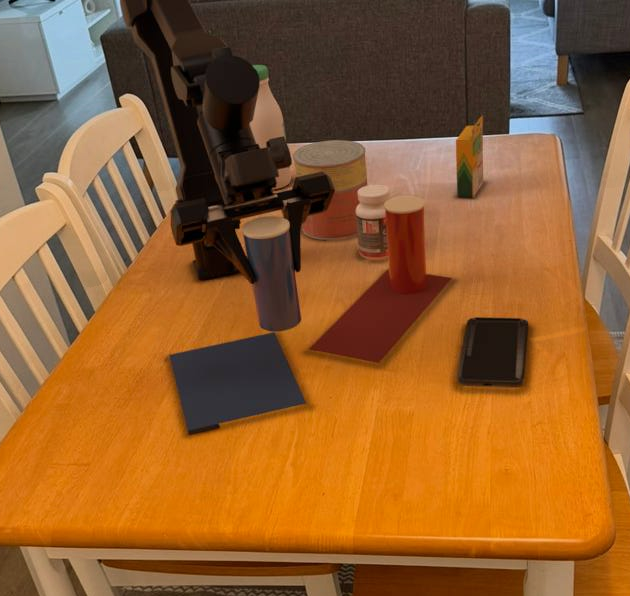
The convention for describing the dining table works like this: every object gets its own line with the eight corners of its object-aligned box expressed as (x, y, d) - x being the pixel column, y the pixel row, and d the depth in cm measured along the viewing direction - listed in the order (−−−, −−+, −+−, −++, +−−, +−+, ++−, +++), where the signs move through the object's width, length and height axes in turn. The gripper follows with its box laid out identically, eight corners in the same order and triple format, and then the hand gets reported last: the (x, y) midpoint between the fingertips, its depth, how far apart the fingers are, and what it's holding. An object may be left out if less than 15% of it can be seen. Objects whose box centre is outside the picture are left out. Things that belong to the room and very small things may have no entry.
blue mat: (170, 358, 115) (169, 354, 114) (275, 336, 117) (274, 332, 117) (188, 434, 101) (187, 430, 101) (307, 407, 104) (306, 403, 103)
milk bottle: (289, 190, 158) (274, 72, 146) (247, 192, 159) (227, 75, 146) (293, 174, 164) (278, 60, 152) (252, 177, 165) (234, 63, 152)
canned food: (376, 211, 148) (371, 139, 140) (364, 240, 139) (357, 165, 132) (310, 212, 150) (302, 140, 142) (295, 240, 141) (284, 165, 134)
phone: (528, 318, 114) (523, 382, 102) (528, 326, 114) (523, 390, 103) (467, 317, 115) (455, 379, 103) (467, 324, 116) (455, 387, 104)
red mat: (388, 271, 130) (388, 268, 129) (452, 281, 126) (452, 277, 125) (309, 352, 113) (308, 348, 113) (379, 366, 109) (378, 362, 109)
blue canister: (260, 311, 108) (244, 217, 101) (304, 308, 108) (291, 214, 100) (255, 333, 104) (238, 237, 97) (300, 330, 104) (287, 234, 96)
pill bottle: (392, 262, 132) (388, 198, 126) (355, 261, 133) (349, 198, 127) (399, 245, 136) (395, 182, 130) (363, 245, 138) (358, 182, 132)
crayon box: (467, 181, 155) (466, 113, 148) (483, 182, 154) (484, 114, 147) (456, 197, 150) (455, 128, 143) (473, 198, 149) (473, 128, 142)
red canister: (384, 281, 126) (378, 199, 119) (420, 273, 127) (416, 192, 120) (396, 297, 122) (391, 214, 115) (433, 289, 123) (430, 206, 116)
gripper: (153, 131, 92) (199, 270, 91) (320, 98, 97) (366, 229, 96) (154, 181, 103) (195, 306, 101) (304, 149, 108) (346, 267, 106)
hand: (275, 276), depth 101 cm, fingers closed on blue canister, 5 cm apart
